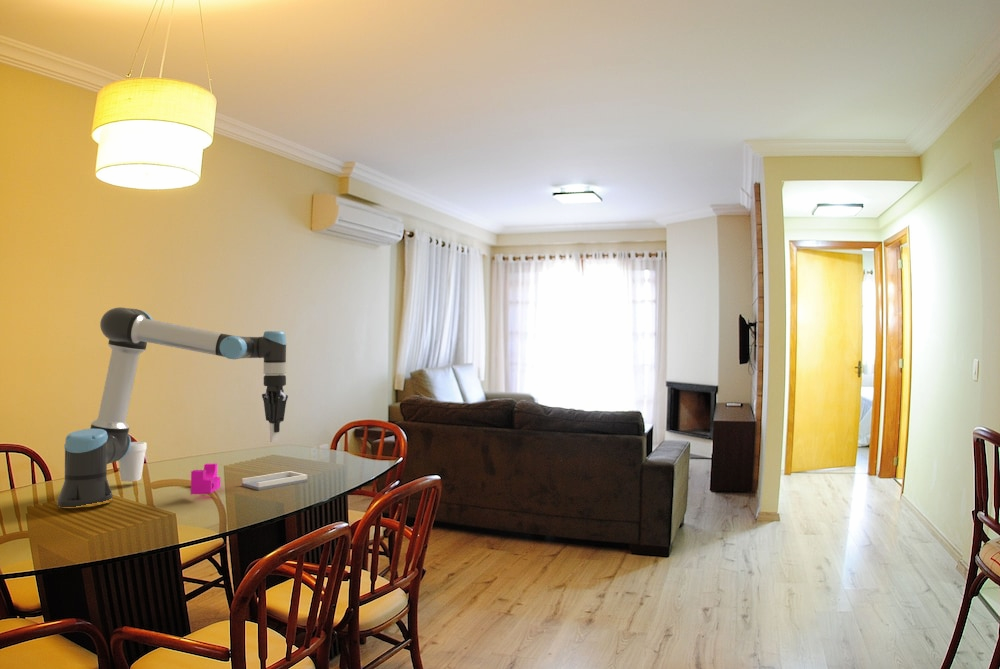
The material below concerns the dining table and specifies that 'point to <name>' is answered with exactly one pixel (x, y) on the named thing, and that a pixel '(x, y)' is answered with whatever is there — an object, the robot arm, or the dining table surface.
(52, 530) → the dining table surface
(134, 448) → the foam cup
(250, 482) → the tray
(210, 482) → the toy block
